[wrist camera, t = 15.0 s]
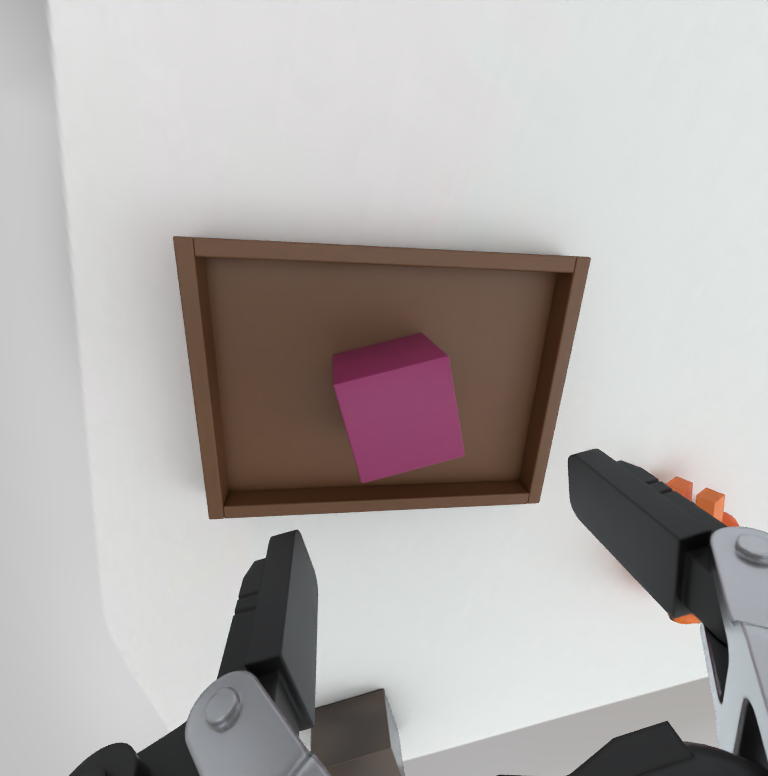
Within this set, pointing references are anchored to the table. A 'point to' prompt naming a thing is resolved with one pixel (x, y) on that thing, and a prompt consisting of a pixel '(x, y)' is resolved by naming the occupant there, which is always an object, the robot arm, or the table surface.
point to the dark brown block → (358, 737)
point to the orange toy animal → (713, 506)
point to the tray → (360, 329)
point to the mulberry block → (398, 406)
